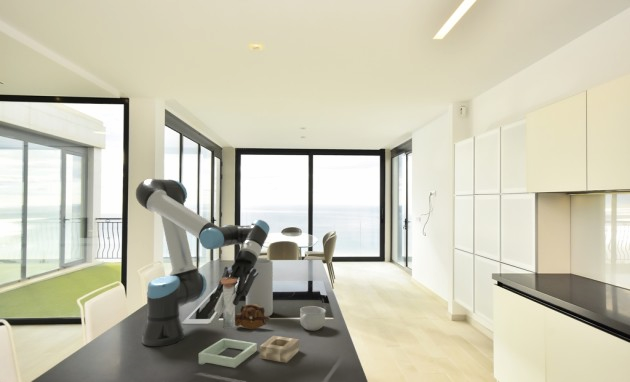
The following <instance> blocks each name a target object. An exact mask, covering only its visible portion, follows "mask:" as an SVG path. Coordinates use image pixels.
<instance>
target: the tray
mask: <svg viewBox="0 0 630 382" xmlns="http://www.w3.org/2000/svg"><path fill="white" fill-rule="evenodd" d="M257 347H258V343H256V342H249V341H244V340H236V339H231V338H225V337H223V338H222V339H220V340H218V341H216V342H215V343H213V344H211V345H210V346H208V347H207V348H205V349H202V351H200V352H199V353H198V365H204V364H206V363H207V364H214V365H217V366H224V367H229V368H234V369H236V368H237V367H238V366H239V365H240V364H241V363H243V362H245V361H246V360H247V359H248V358H250V357H251V355H253V354H255V353H256V352H257V351H258V348H257ZM229 348H231V349H238V350H242V352H239V354H237V355H235V356H234V357H230V356H225V355H220V354H221V353H222V352H224V351H226V350H227V349H229Z"/></svg>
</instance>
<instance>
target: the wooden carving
mask: <svg viewBox="0 0 630 382" xmlns="http://www.w3.org/2000/svg"><path fill="white" fill-rule="evenodd" d="M264 312H265V310H264V307H261V306H259V305H256V304H248V305H246V304H243V305H241V308H240V312H239V313H235V327H239V326H241V327H242V328H245V329H247V330H248V329H249V330H255V329H259V328H261V327H263V326H265V325H267V322H266V321H267V320H269V319H271V317H270V316H267V317H266V316H264Z"/></svg>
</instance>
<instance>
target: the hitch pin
mask: <svg viewBox="0 0 630 382" xmlns="http://www.w3.org/2000/svg"><path fill="white" fill-rule="evenodd" d="M220 280H221V284H222V285H223V307H222V326H223V327H222V328H223V329H225V330H231V329H234V328H236V326H235V315H236V306H235V307H234V309H233V312H232V314H231V315H229V314H228V313H227V312H226V309H227V307H228V305H229V302H230V300H231V298H232V296H233V294H234V293H235V294H236V292H235V291H236V284H238V279H237V277H230V276H229V277H223V278H222V277H220Z"/></svg>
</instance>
